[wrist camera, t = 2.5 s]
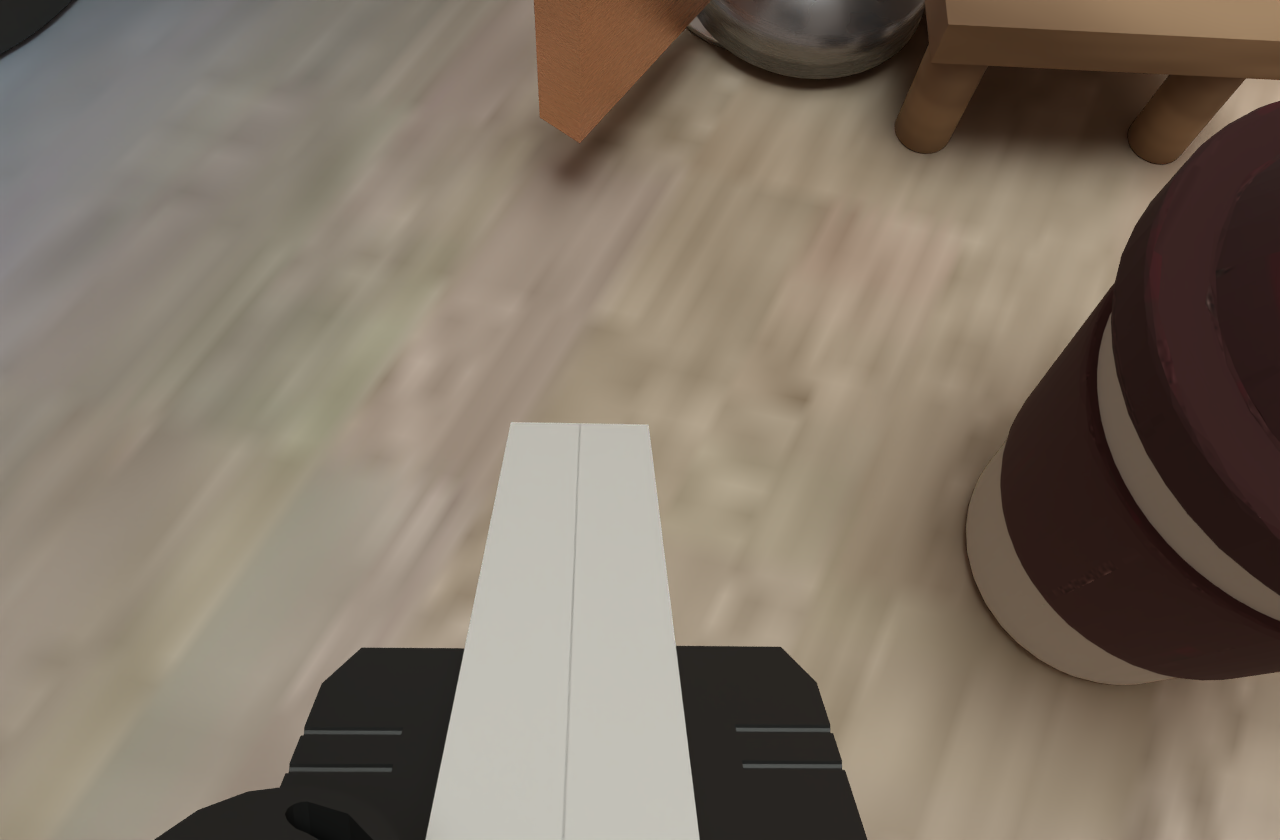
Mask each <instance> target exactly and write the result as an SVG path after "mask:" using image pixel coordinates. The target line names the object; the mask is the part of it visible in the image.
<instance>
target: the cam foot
mask: <svg viewBox="0 0 1280 840" xmlns="http://www.w3.org/2000/svg"><path fill="white" fill-rule="evenodd" d="M534 8H535V29H536V49H537V69H538V89H539V110H540V118H541V119H543V120H545V121H546V122H548V123H549V124H551V125H552V126H554V127H555V128H557V129H559V130H560V131H562V132H563V133H565V134H566V135H568V136H569V137H571V138H573V139H574V140H576V141H577V142H579V143H580V142H581V141H582V140H583V139H584V138H585V137H586V136H587V135H588V134H589V133H590V131H591V130H592V129H593V128H594V127H595V126H596V125H597V124H598V123H599V122H600V121H601V120H602V118H603V117H604V116H605V115H606V114H607V113H608V112H609V111H610V110H611V109H612V108H613V106H614V105H615V104H616V103H617V102H618V101H619V100H620V99H621V98H622V97H623V96H624V95H625V93H626V92H627V91H628V90H629V89H630V88H631V87H632V86H633V85H634V84H635V83H636V81H637V80H638V79H639V78H640V77H641V76H642V75H643V74H644V73H645V72H646V71H647V70H648V68H649V67H650V66H651V65H652V64H653V63H654V62H655V61H656V60H657V59H658V58H659V56H660V55H661V54H662V53H663V52H664V51H665V50H666V49H667V48H668V47H669V46H670V45H671V43H672V42H673V41H674V40H675V39H676V38H677V37H678V36H679V35H680V34H681V33H682V31H683V30H684V29H685V28H686V27H687V26H688V25H689V24H690V23H691V22H692V21H693V20H694V18H695V17H696V16H697V17H698V19H699V20H700V22H701V23H702V25H703V26H704V28H705V29H706V30H707V31H708V32H709V33H710V34H711V35H712V37H713V38H714V39H715V40H717V41H718V42H719V43H720V44H721V45H722V46H723V47H725V48H726V49H727V50H729V51H730V52H732V53H733V54H735V55H736V56H737V57H739V58H741V59H743V60H745V61H747V62H748V63H750V64H752V65H755V66H757V67H760V68H762V69H765V70H767V71H770V72H774V73H778V74H781V75H785V76H791V77H797V78H807V79H830V78H838V77H845V76H850V75H853V74H857V73H861V72H864V71H866V70H869V69H871V68H873V67H876V66H878V65H879V64H881V63H883V62H885V61H886V60H888V59H890V58H891V57H892V56H893V55H895V54H896V53H897V52H898V51H900V50H901V49H902V47H903V46H904V45H905V44H906V43H907V42H908V41H909V40H910V38H911V37H912V35H913V34H914V32H915V31H916V29H917V27H918V24H919V22H920V20H921V18H922V15H923V13H924V10H925V0H534Z"/></svg>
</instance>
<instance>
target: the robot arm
mask: <svg viewBox="0 0 1280 840" xmlns="http://www.w3.org/2000/svg"><path fill="white" fill-rule="evenodd" d="M70 2H71V0H0V54H1V53H3V52H5V51H6V50H8V49H10V48H12V47H13V46H15V45H17V44H18V43H20V42H21V41H23V40H24V39H26V38H28V37H29V36H30V35H32V34H33V33H34V32H36V31H37V30H39V29H40V28H41V27H43V26H44V25H45V24H46V23H48V22H49V21H50V20H51V19H52V18H54V17H55V16H56V15H57V14H58V13H59V12H60V11H61V10H62V9H63V8H65V7H66V6H67V5H68V4H69V3H70ZM155 840H867V837H866V834H865V831H864V828H863V825H862V822H861V818H860V815H859V812H858V809H857V806H856V803H855V800H854V797H853V794H852V791H851V788H850V784H849V781H848V778H847V775H846V772H845V770H842V760H841V757H840V754H839V750H838V747H837V744H836V741H835V738H834V735H833V733H830V723H829V720H828V717H827V713H826V710H825V707H824V704H823V701H822V698H821V695H820V692H819V689H818V686H817V683H816V682H815V681H814V680H813V679H812V678H811V677H810V676H809V675H808V674H807V673H806V672H805V671H804V670H803V669H802V668H801V667H800V666H799V665H798V664H797V663H796V662H795V661H794V660H793V659H792V658H791V657H790V656H789V655H788V654H787V653H786V652H785V651H784V650H783V649H782V648H781V647H734V646H676V644H675V636H674V627H673V619H672V611H671V603H670V595H669V587H668V579H667V571H666V562H665V554H664V546H663V538H662V530H661V522H660V514H659V506H658V497H657V489H656V481H655V473H654V465H653V457H652V449H651V441H650V432H649V425H646V424H589V423H532V422H511V424H510V429H509V434H508V439H507V444H506V449H505V454H504V459H503V463H502V468H501V473H500V478H499V483H498V488H497V493H496V498H495V503H494V507H493V512H492V517H491V522H490V527H489V532H488V537H487V542H486V546H485V551H484V556H483V561H482V566H481V571H480V576H479V581H478V586H477V590H476V595H475V600H474V605H473V610H472V615H471V620H470V625H469V630H468V634H467V639H466V644H465V649H458V648H361V649H360V650H359V651H357V652H356V653H355V654H354V655H353V656H352V657H351V658H350V659H349V660H348V661H346V662H345V663H344V664H343V665H342V666H341V667H340V668H339V669H338V670H336V671H335V672H334V673H333V674H332V675H331V676H330V677H329V678H328V679H327V680H325V681H324V682H323V683H322V685H321V687H320V690H319V692H318V695H317V697H316V700H315V702H314V704H313V707H312V709H311V712H310V714H309V717H308V719H307V722H306V724H305V727H304V736H301V737H300V739H299V742H298V744H297V747H296V749H295V752H294V754H293V756H292V759H291V761H290V768H289V773H286V774H285V776H284V779H283V781H282V784H281V786H280V788H273V789H265V790H257V791H249V792H246V793H243V794H240V795H237V796H235V797H232V798H229V799H227V800H224V801H221V802H219V803H216V804H213V805H211V806H208V807H205V808H202V809H200V810H198V811H196V812H195V813H193V814H192V815H190V816H189V817H187V818H186V819H184V820H183V821H181V822H180V823H178V824H177V825H175V826H174V827H172V828H171V829H170V830H168V831H167V832H165V833H164V834H162V835H161V836H159V837H158V838H156V839H155Z"/></svg>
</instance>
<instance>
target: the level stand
mask: <svg viewBox="0 0 1280 840" xmlns="http://www.w3.org/2000/svg"><path fill="white" fill-rule="evenodd" d="M925 9H926V18H927V28H928V37H929V45H928V47H927V50H926V52H925V54H924V56H923V59H922V61H921V63H920V66H919V68H918V70H917V73H916V75H915V77H914V80H913V82H912V84H911V87H910V89H909V91H908V94H907V96H906V98H905V101H904V103H903V105H902V108H901V110H900V112H899V114H898V117H897V119H896V122H895V132H896V135H897V137H898V139H899V140H900V141H901V143H902V144H903V145H905V146H906V147H907V148H909V149H911V150H913V151H916V152H919V153H934V152H937V151H939V150H941V149H943V148H944V147H945V146H946V145H947V143H948V142H949V140H950V138H951V136H952V134H953V132H954V130H955V128H956V126H957V124H958V122H959V121H960V119H961V117H962V115H963V113H964V111H965V109H966V107H967V105H968V103H969V101H970V99H971V97H972V95H973V93H974V92H975V90H976V88H977V86H978V84H979V82H980V80H981V78H982V76H983V74H984V72H985V70H986V68H987V66H1006V67H1026V68H1047V69H1067V70H1087V71H1108V72H1128V73H1149V74H1169V76H1168V77H1167V78H1166V80H1165V81H1164V82H1163V84H1162V85H1161V86H1160V88H1159V89H1158V90H1157V92H1156V93H1155V94H1154V96H1153V97H1152V98H1151V100H1150V101H1149V102H1148V104H1147V105H1146V106H1145V108H1144V109H1143V110H1142V112H1141V113H1140V114H1139V116H1138V117H1137V118H1136V120H1135V121H1134V122H1133V124H1132V125H1131V126H1130V128H1129V130H1128V141H1129V144H1130V146H1131V148H1132V149H1133V151H1134V152H1135V153H1136V154H1137V155H1138V156H1140V157H1141V158H1143V159H1144V160H1146V161H1149V162H1152V163H1156V164H1167V163H1170V162H1173V161H1175V160H1176V159H1177V158H1178V157H1179V156H1180V155H1181V154H1182V153H1183V151H1184V150H1185V149H1186V148H1187V147H1188V146H1189V144H1190V143H1191V142H1192V141H1193V140H1194V139H1195V137H1196V136H1197V135H1198V134H1199V133H1200V132H1201V130H1202V129H1203V128H1204V127H1205V126H1206V125H1207V123H1208V122H1209V121H1210V120H1211V119H1212V118H1213V116H1214V115H1215V114H1216V113H1217V112H1218V110H1219V109H1220V108H1221V107H1222V106H1223V105H1224V103H1225V102H1226V101H1227V100H1228V99H1229V98H1230V96H1231V95H1232V94H1233V93H1234V92H1235V91H1236V89H1237V88H1238V87H1239V86H1240V85H1241V84H1242V82H1243V81H1244V80H1245V79H1246V78H1251V79H1272V80H1280V0H925Z"/></svg>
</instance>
